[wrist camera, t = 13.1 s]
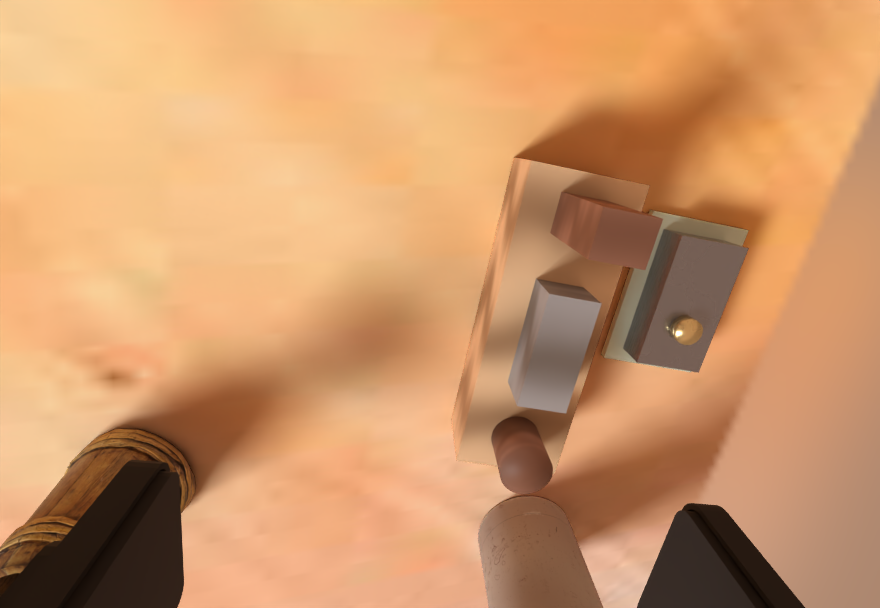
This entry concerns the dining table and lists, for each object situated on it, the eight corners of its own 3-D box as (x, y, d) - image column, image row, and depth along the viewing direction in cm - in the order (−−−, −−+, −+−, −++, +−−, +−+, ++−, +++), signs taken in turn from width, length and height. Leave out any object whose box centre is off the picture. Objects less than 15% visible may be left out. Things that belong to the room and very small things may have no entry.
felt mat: (649, 209, 32) (653, 210, 32) (743, 228, 33) (748, 230, 33) (600, 354, 36) (603, 357, 35) (686, 368, 37) (690, 372, 36)
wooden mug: (268, 481, 38) (150, 755, 21) (119, 535, 39) (-106, 837, 22) (211, 391, 35) (22, 623, 18) (52, 451, 36) (-265, 724, 19)
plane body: (514, 157, 31) (566, 166, 20) (615, 178, 32) (717, 198, 21) (451, 420, 37) (465, 534, 26) (537, 432, 38) (585, 548, 27)
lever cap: (663, 228, 32) (689, 237, 29) (725, 240, 33) (757, 251, 30) (622, 348, 35) (642, 367, 32) (680, 357, 36) (704, 377, 33)
